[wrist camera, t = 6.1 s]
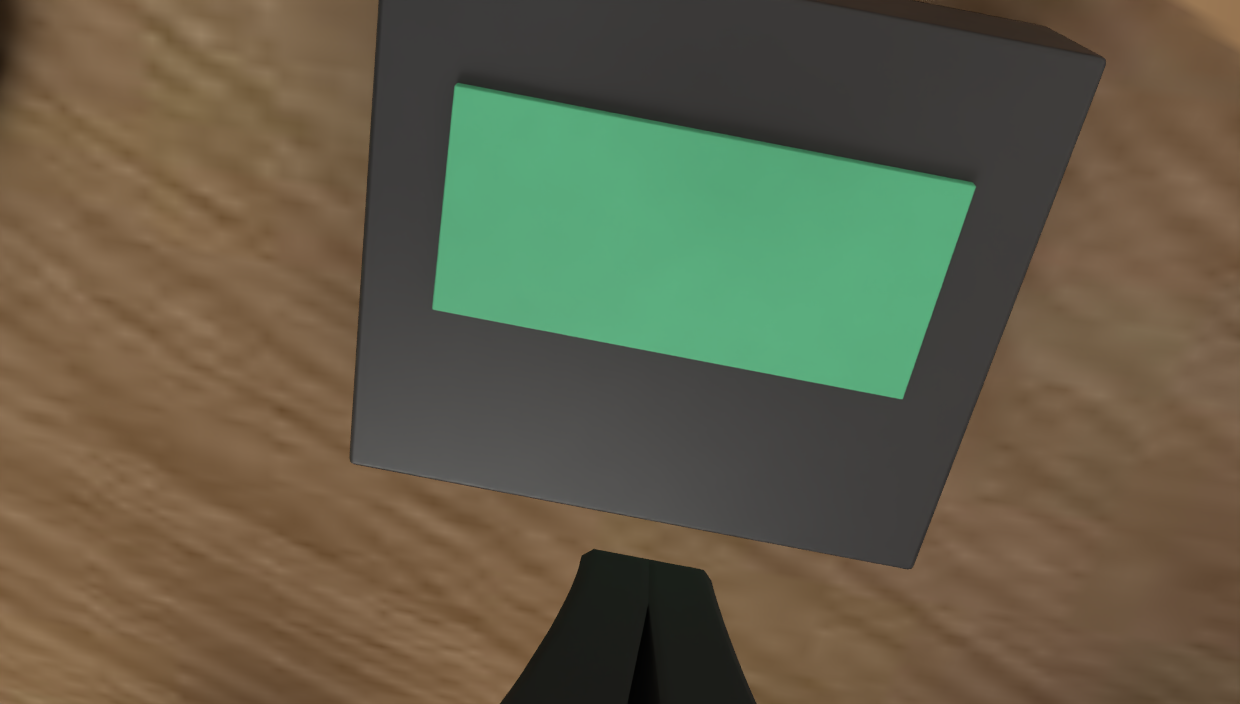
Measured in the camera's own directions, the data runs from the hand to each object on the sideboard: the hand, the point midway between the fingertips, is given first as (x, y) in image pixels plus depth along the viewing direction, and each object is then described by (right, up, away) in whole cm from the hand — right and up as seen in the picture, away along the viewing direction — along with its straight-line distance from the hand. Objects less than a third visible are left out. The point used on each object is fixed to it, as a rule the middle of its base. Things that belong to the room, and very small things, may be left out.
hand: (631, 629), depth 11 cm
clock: (0, +1, +6) cm, 6 cm away
